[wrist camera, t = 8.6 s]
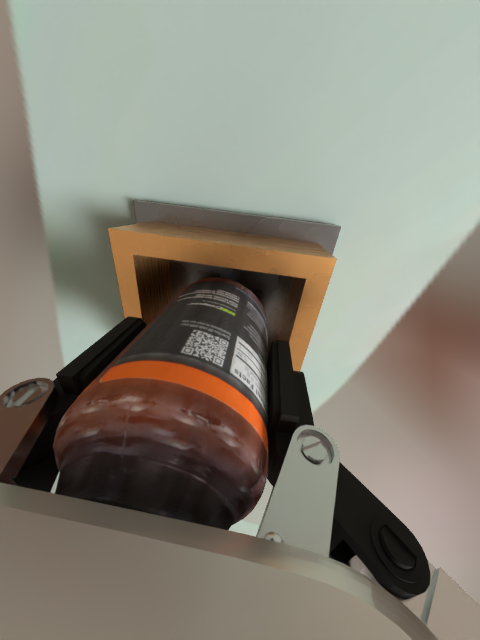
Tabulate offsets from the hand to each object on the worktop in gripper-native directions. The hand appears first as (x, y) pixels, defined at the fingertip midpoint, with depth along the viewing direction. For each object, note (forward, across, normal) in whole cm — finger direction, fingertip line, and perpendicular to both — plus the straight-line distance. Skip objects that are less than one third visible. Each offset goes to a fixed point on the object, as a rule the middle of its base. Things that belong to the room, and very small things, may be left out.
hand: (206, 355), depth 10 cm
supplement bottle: (+4, 0, 0) cm, 4 cm away
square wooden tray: (+7, 0, 0) cm, 7 cm away
